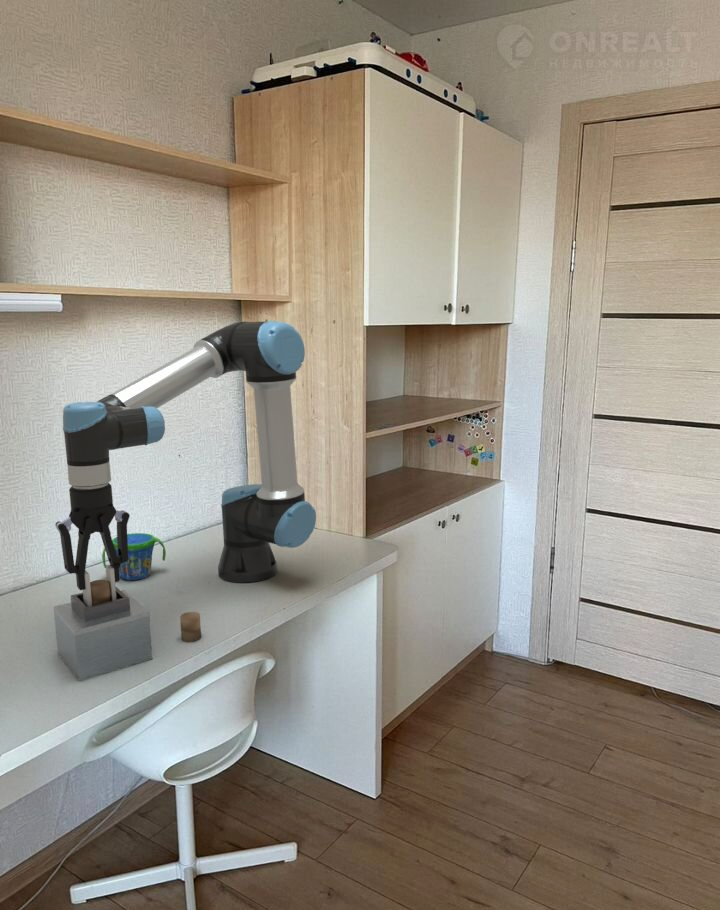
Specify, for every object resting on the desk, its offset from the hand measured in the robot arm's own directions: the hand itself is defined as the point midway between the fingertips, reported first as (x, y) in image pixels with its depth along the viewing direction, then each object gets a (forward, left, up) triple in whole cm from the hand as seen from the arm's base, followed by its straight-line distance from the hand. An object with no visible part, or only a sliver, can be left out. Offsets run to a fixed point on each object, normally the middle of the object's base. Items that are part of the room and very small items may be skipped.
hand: (100, 601), depth 139 cm
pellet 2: (-17, +3, -12) cm, 21 cm away
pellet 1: (0, 0, -1) cm, 1 cm away
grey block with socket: (0, 0, -12) cm, 12 cm away
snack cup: (-21, -40, -12) cm, 47 cm away
